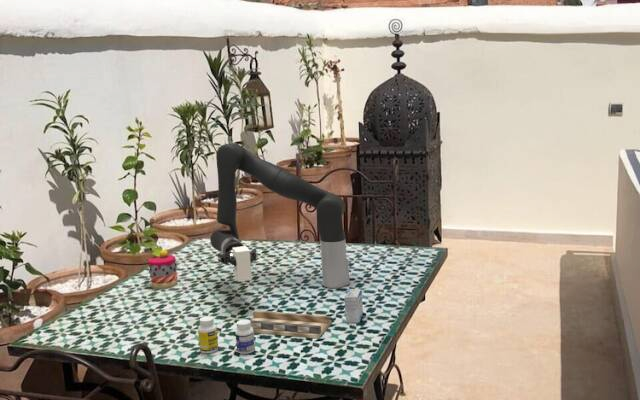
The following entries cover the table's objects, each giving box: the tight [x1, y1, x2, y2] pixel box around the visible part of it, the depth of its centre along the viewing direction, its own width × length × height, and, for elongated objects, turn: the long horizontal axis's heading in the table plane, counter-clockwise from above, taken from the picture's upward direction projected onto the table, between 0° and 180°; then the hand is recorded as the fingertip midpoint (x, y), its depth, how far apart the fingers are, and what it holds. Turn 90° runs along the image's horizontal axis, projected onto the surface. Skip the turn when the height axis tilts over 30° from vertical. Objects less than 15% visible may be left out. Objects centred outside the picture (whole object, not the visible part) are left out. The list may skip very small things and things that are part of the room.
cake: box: [147, 245, 179, 290], centre depth 260 cm, size 10×11×15 cm
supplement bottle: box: [197, 315, 219, 354], centre depth 197 cm, size 5×5×10 cm
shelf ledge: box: [249, 310, 332, 339], centre depth 211 cm, size 26×12×3 cm, turn 70°
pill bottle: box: [234, 318, 256, 355], centre depth 195 cm, size 5×5×9 cm
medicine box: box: [344, 288, 364, 324], centre depth 214 cm, size 8×4×9 cm, turn 168°
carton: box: [232, 245, 253, 282], centre depth 224 cm, size 4×6×10 cm
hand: (243, 262), depth 222 cm, fingers closed on carton, 4 cm apart
